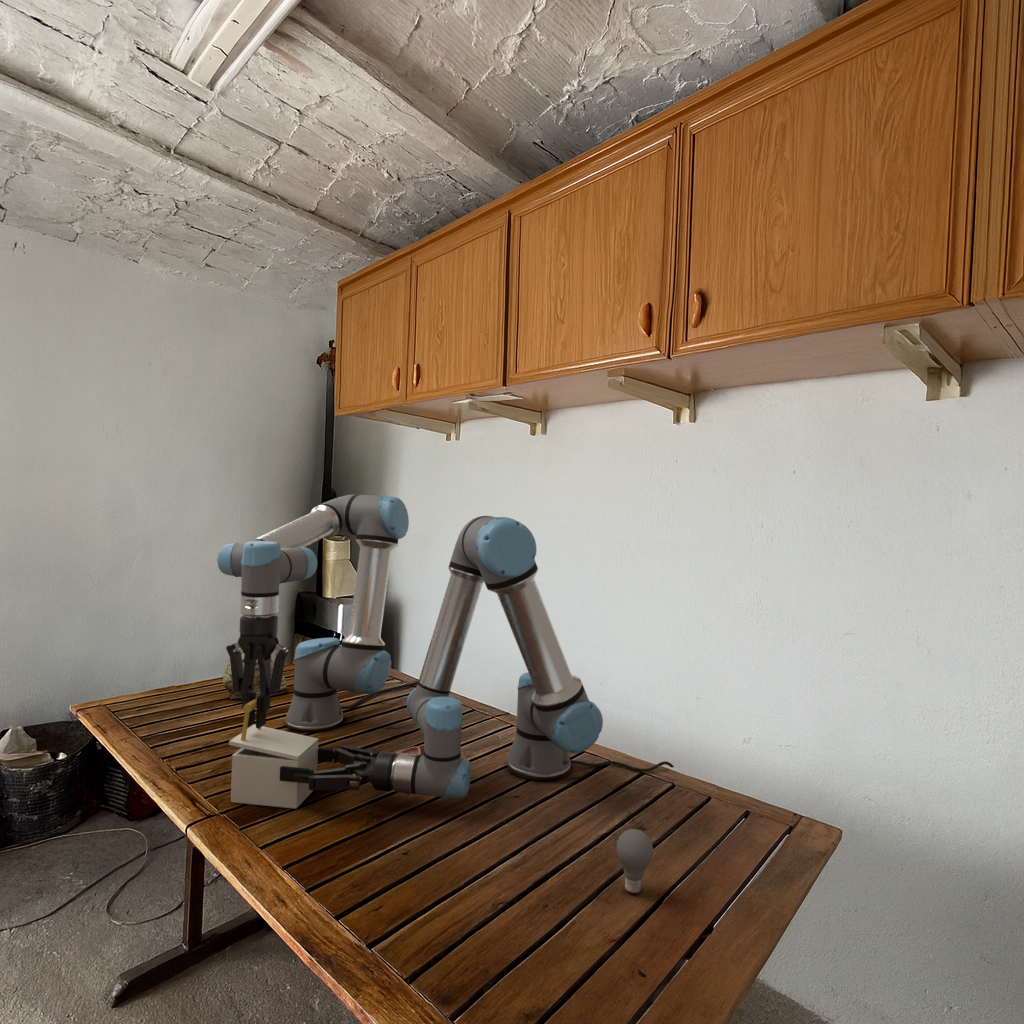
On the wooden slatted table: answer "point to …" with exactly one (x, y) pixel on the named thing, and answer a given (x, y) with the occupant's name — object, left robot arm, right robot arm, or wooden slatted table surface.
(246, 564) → the left robot arm
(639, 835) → the light bulb
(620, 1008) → the wooden slatted table surface
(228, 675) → the fossil
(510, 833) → the wooden slatted table surface
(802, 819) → the wooden slatted table surface
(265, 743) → the lid
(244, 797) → the chest
